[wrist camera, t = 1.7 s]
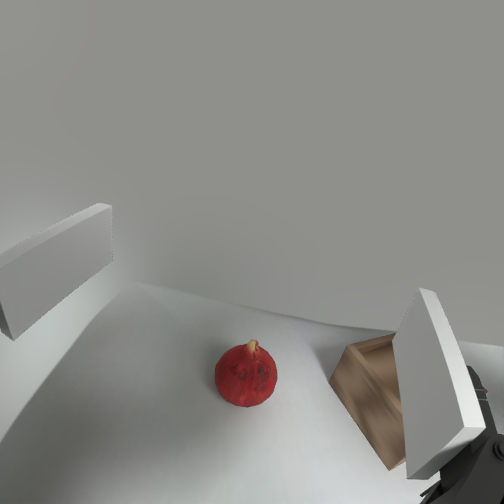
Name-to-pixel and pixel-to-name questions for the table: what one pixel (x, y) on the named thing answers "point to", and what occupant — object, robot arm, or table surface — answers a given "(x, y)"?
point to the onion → (246, 375)
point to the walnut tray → (373, 396)
